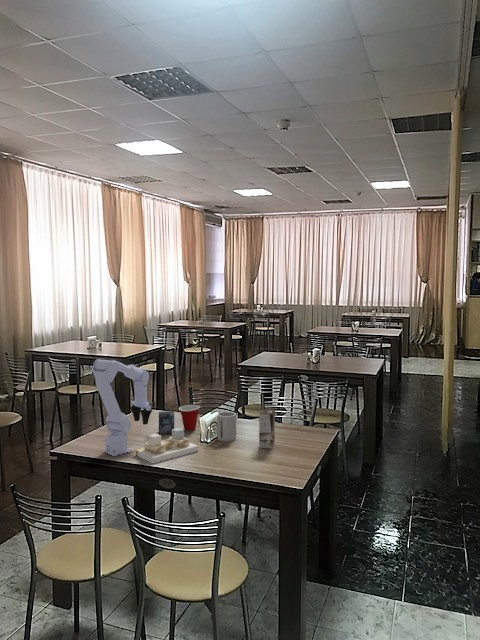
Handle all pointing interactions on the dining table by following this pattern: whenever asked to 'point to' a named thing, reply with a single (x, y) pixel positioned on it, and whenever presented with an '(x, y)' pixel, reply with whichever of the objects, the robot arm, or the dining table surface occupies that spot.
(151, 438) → the crate
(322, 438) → the dining table surface
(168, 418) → the box
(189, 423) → the plastic cup
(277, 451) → the dining table surface
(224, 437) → the cup
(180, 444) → the pallet
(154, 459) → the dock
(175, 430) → the block
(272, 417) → the coffee box
